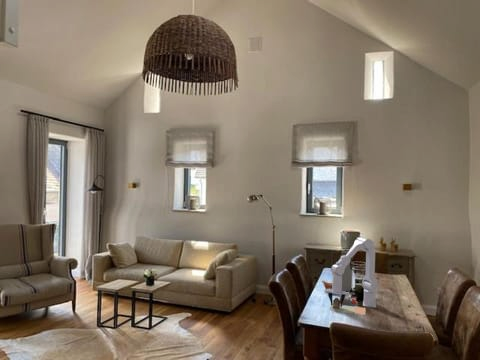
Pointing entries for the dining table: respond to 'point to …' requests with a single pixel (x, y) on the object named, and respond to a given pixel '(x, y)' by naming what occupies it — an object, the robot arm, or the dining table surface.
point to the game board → (350, 309)
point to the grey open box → (349, 301)
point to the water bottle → (347, 275)
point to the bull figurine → (327, 285)
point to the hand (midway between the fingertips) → (336, 305)
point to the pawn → (336, 303)
